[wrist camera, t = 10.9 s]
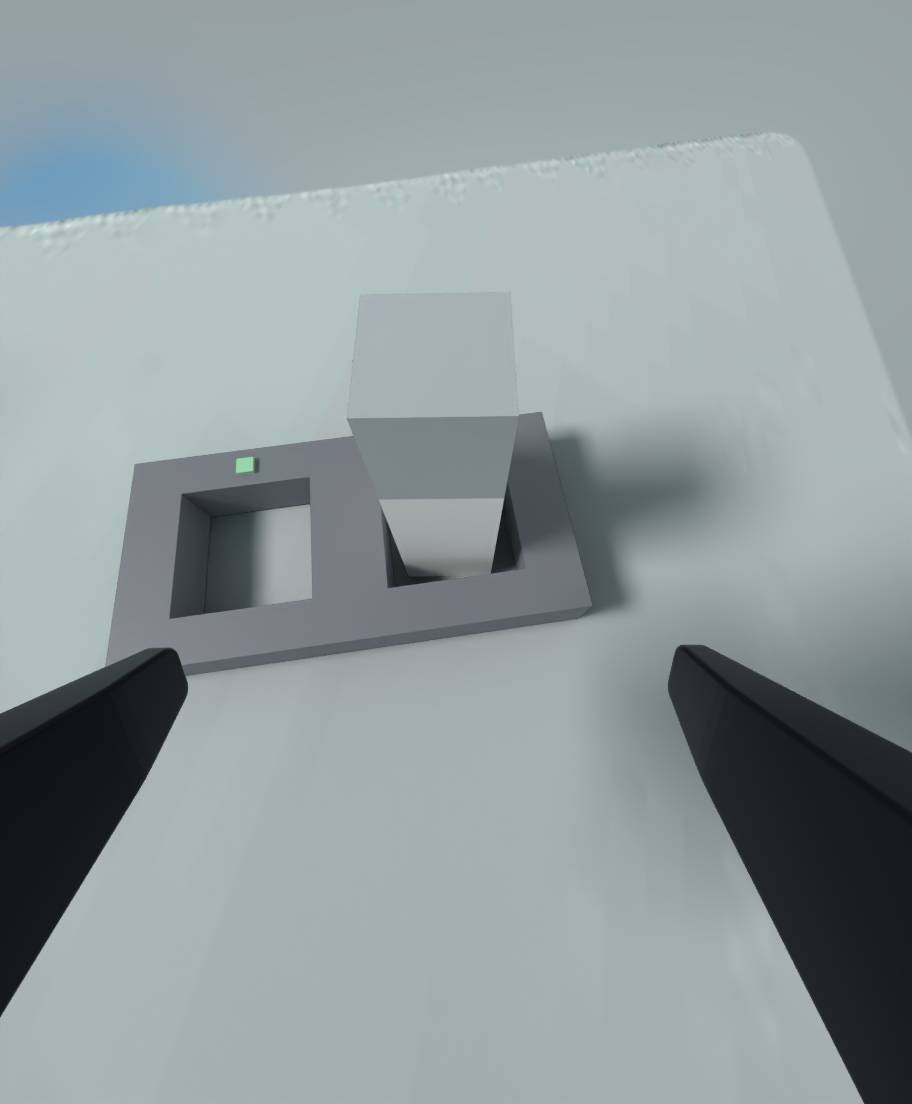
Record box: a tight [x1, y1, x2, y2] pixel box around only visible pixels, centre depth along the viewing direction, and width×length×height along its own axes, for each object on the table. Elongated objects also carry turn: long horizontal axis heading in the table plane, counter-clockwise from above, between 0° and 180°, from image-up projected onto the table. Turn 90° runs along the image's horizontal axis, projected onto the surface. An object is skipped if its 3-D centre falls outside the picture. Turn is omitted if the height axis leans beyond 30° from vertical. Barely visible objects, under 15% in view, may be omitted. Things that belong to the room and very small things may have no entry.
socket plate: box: [105, 412, 593, 676], centre depth 21 cm, size 10×20×3 cm, turn 98°
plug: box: [347, 292, 519, 576], centre depth 16 cm, size 5×4×12 cm
